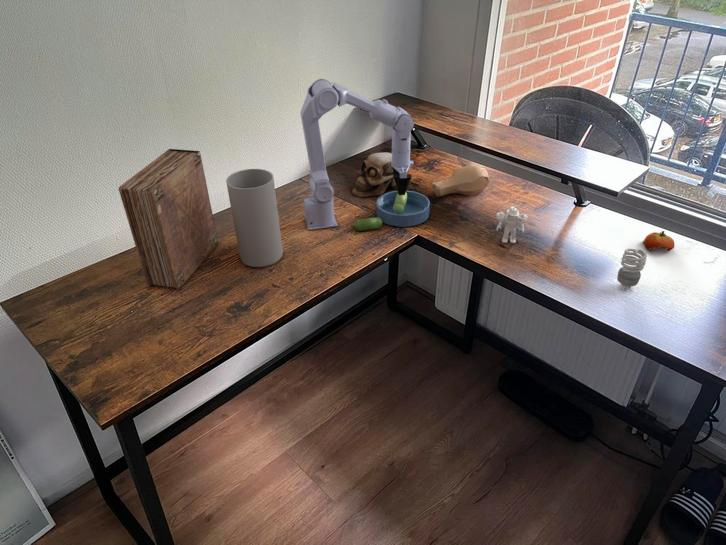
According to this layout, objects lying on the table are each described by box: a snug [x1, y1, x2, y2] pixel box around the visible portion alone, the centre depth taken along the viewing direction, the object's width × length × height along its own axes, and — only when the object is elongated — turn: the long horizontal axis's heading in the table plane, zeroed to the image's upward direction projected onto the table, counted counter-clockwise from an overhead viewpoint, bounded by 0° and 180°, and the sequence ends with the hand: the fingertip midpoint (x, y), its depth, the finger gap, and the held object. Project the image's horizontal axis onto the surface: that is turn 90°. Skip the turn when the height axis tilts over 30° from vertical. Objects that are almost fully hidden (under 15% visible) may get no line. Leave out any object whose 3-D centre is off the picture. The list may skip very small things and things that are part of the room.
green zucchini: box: [350, 216, 383, 232], centre depth 174 cm, size 10×4×4 cm, turn 103°
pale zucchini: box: [393, 193, 407, 213], centre depth 183 cm, size 10×4×4 cm, turn 165°
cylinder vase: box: [225, 168, 284, 268], centre depth 156 cm, size 12×12×25 cm
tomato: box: [642, 230, 675, 253], centre depth 161 cm, size 8×7×7 cm
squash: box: [431, 164, 490, 198], centre depth 192 cm, size 11×20×9 cm, turn 107°
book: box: [118, 148, 219, 291], centre depth 153 cm, size 25×9×30 cm, turn 167°
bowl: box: [375, 190, 431, 228], centre depth 181 cm, size 17×17×4 cm
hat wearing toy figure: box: [495, 204, 528, 244], centre depth 164 cm, size 9×4×12 cm, turn 80°
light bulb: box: [616, 248, 648, 290], centre depth 143 cm, size 6×6×12 cm
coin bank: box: [351, 152, 397, 198], centre depth 195 cm, size 16×17×13 cm
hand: (400, 189), depth 180 cm, fingers open, 7 cm apart
